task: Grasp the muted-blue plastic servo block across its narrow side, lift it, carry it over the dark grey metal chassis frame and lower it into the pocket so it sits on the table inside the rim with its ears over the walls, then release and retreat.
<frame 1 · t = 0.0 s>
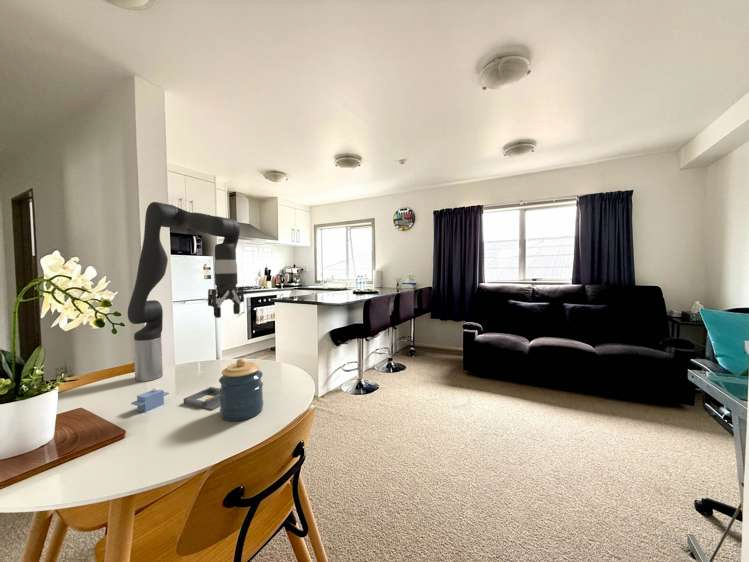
hand: (227, 315, 112), 29 cm above the table, fingers open, 8 cm apart
servo block: (151, 407, 102), on the table
canister: (242, 412, 98), on the table
chassis plate: (207, 399, 108), on the table
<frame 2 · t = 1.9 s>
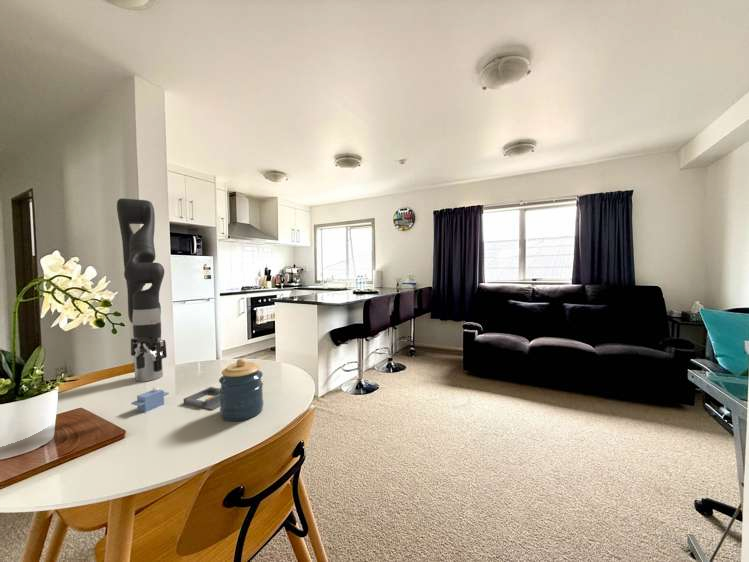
hand: (149, 369, 101), 13 cm above the table, fingers open, 8 cm apart
nothing on the table moved.
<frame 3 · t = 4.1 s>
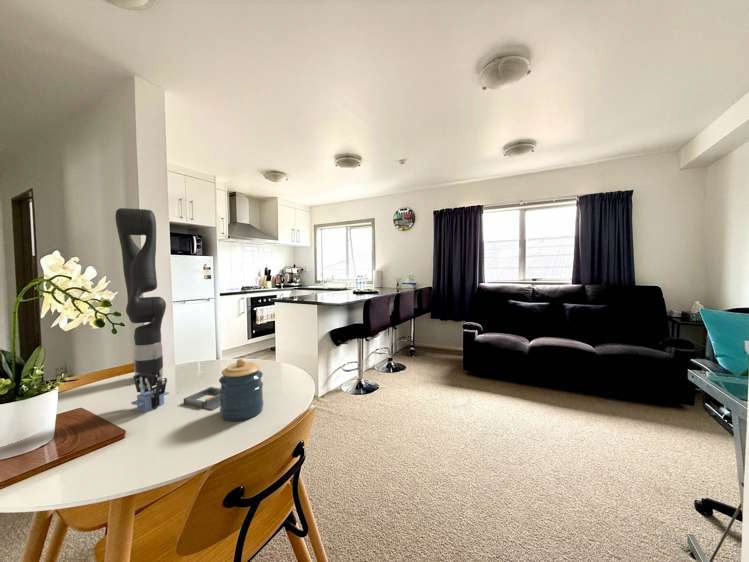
hand: (151, 405, 102), 0 cm above the table, fingers closed on servo block, 4 cm apart
servo block: (151, 407, 102), on the table, touching gripper
everything else where it was.
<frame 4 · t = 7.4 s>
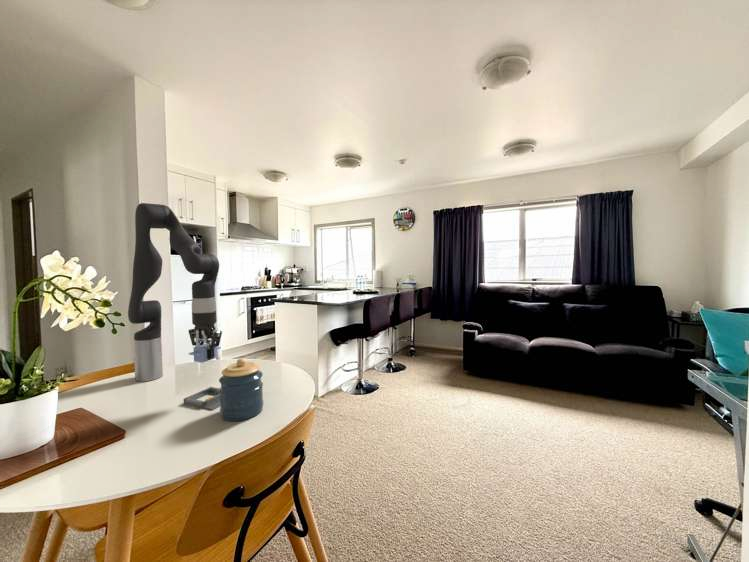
hand: (206, 358, 107), 15 cm above the table, fingers closed on servo block, 4 cm apart
servo block: (205, 359, 107), point 15 cm above the table, touching gripper
everything else where it was.
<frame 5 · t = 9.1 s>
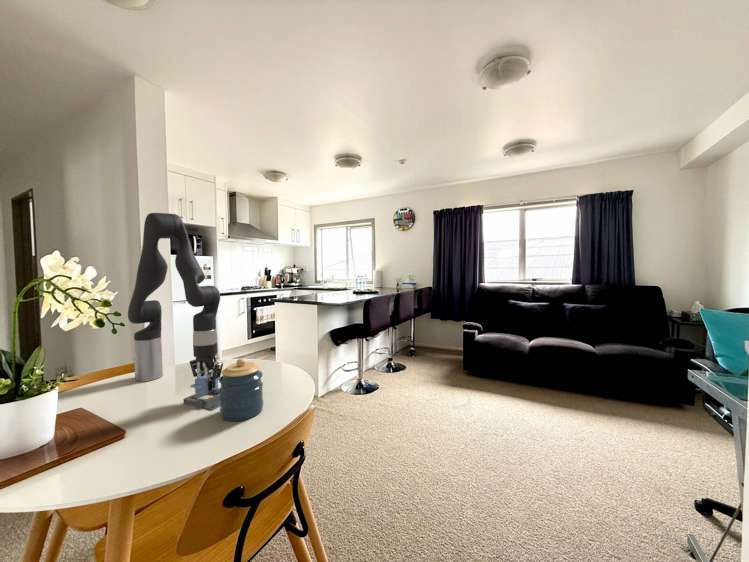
hand: (207, 389, 107), 4 cm above the table, fingers closed on servo block, 4 cm apart
servo block: (206, 390, 107), point 3 cm above the table, touching gripper
everything else where it was.
when the fingers open (2 cm above the table, at t = 10.7 s): servo block drops 1 cm, resting in chassis plate.
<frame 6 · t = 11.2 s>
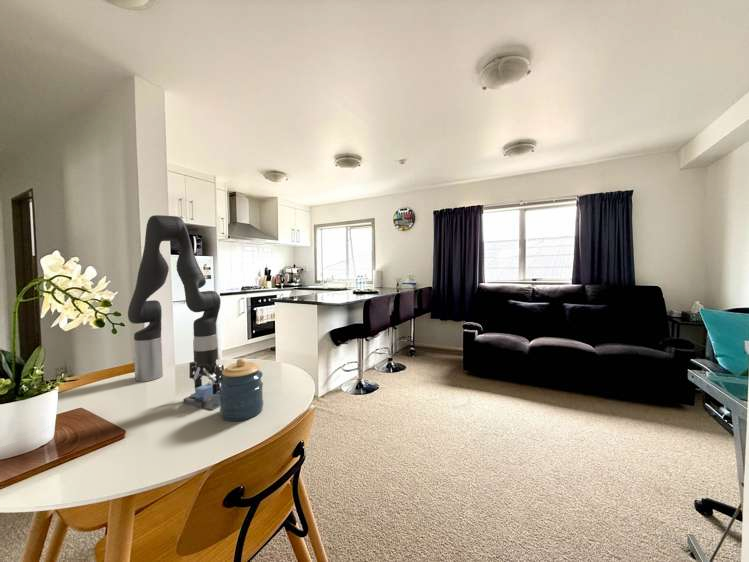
hand: (207, 391, 108), 3 cm above the table, fingers open, 8 cm apart
servo block: (207, 399, 108), resting in chassis plate
everything else where it was.
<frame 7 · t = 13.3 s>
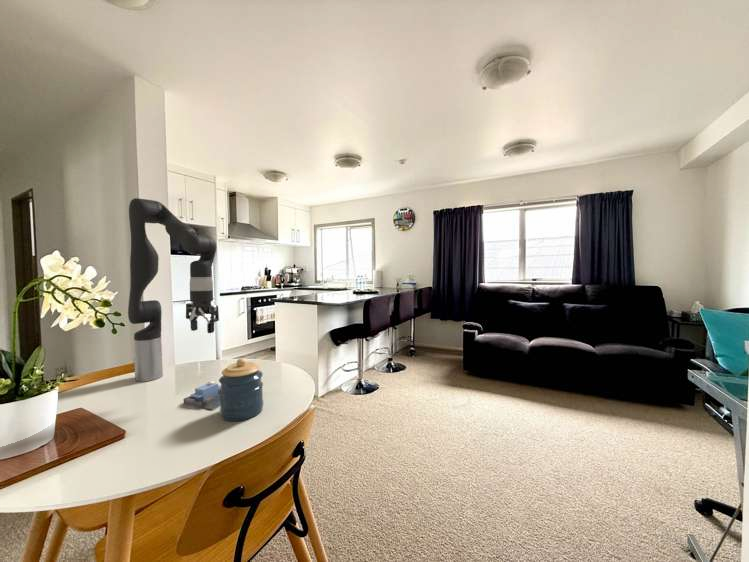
hand: (202, 331, 114), 23 cm above the table, fingers open, 8 cm apart
nothing on the table moved.
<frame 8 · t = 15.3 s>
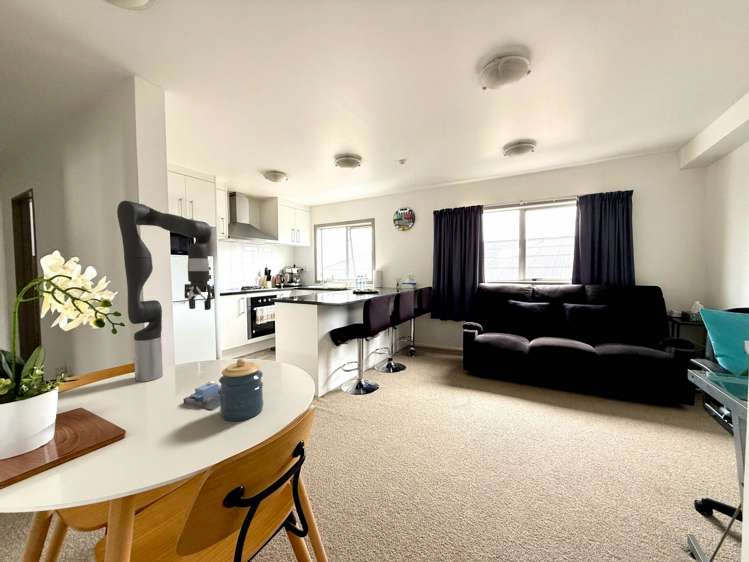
hand: (200, 309, 123), 30 cm above the table, fingers open, 8 cm apart
nothing on the table moved.
at the end: servo block 0.1 cm off-centre on the chassis plate, point 0.0 cm above the chassis plate's base; servo block tilted 0°; the gripper is holding nothing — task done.
